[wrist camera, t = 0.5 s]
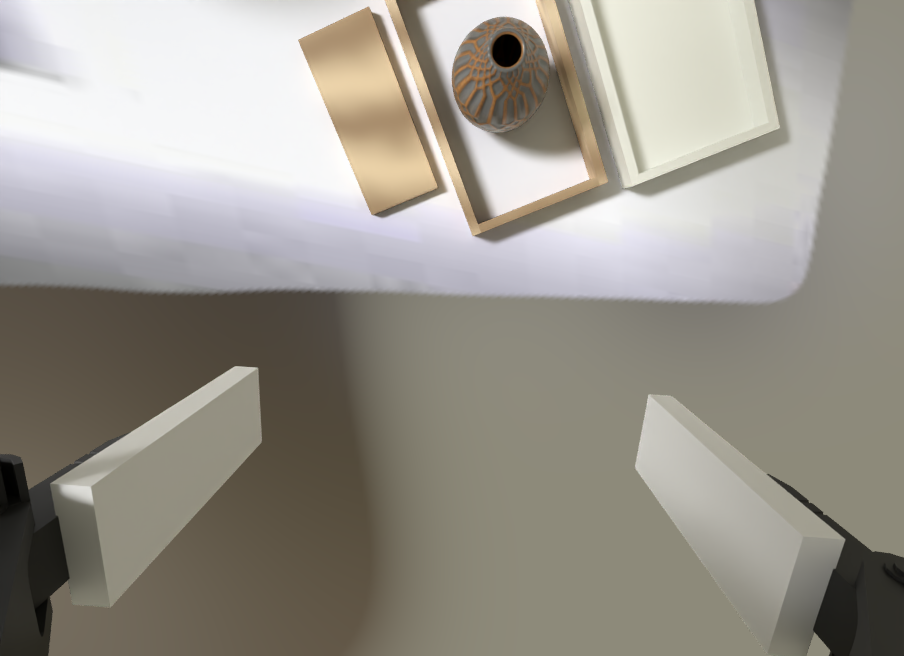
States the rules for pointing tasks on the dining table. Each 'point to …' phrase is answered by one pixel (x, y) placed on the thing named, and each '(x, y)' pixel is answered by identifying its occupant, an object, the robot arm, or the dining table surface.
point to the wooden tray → (573, 100)
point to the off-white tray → (675, 79)
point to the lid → (368, 111)
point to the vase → (500, 74)
